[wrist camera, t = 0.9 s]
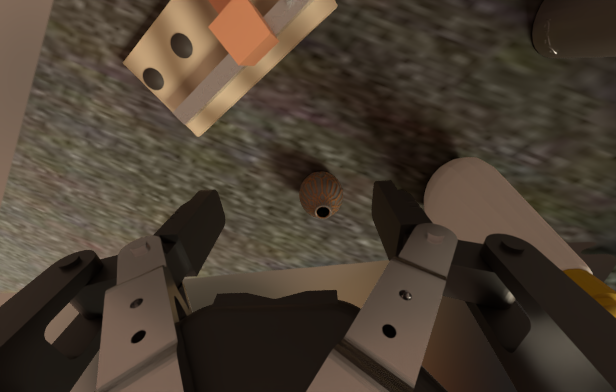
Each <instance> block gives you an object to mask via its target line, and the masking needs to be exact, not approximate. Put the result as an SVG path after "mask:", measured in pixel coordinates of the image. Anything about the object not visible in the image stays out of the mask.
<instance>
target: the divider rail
mask: <svg viewBox="0 0 616 392" xmlns="http://www.w3.org/2000/svg"><path fill="white" fill-rule="evenodd" d="M313 1H314V0H279V1H278V2H277V3H276V4H275V5H274V6H273V7H272V9H271V10H270V11H269V12H268V13H267V14H266V15H265V16H264V17H263V18H264V20H265V21H266V22H267V24H268V25H269V27H270V28H271V30H272V31H273V33H274V34H275V36H276V37H278V36H279V35H280V34H281V33H282V32H283V31H284V30H285V29H286V28H287V27H288V26H289V25H290V24H291V23H292V22H293V21H294V20H295V19H296V18H297V17H298V16H299V15H300V14H301V13H302V12H303V11H304V10H305V9H306V8H307V7H308V6H309V5H310V4H311V3H312V2H313ZM246 67H247V66H242V65H238V64H237V63H236V61H235V60H234V59H233V58H232V56H231V55H230V54H228V55H227V56H226V57H225V58H224V59H223V60H222V61H221V62H220V63H219V64H218V65H217V66H216V67H215V68H214V70H213V71H212V72H211V73H210V74H209V75H208V76H207V77H206V78H205V79H204V80H203V81H202V82H201V83H200V84H199V85H198V86H197V87H196V88H195V90H194V91H193V92H192V93H191V94H190V95H189V96H188V97H187V98H186V99H185V100H184V101H183V102H182V103H181V104H180V105H179V106H178V107H177V108H176V110H175V111H174V112H173V114H174V115H175V116H176V117H177V118H178V119H179V120H180V121H181V122H182V123H183V124H184V125H186V124H188V123H190V122H192V121H193V120H194V119H195V118H196V117H197V116H198V115H199V114H200V113H201V112H202V111H203V110H204V109H205V108H206V107H207V106H208V105H209V104H210V103H211V102H212V101H213V100H214V99H215V98H216V97H217V96H218V95H219V94H220V93H221V92H222V91H223V90H224V89H225V88H226V87H227V86H228V85H229V84H230V83H231V82H232V81H233V80H234V79H235V78H236V77H237V76H238V75H239V74H240V73H241V72H242V71H243V70H244V69H245V68H246Z"/></svg>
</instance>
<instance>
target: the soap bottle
mask: <svg viewBox="0 0 616 392" xmlns="http://www.w3.org/2000/svg"><path fill="white" fill-rule="evenodd" d="M424 210H425V214H426V215H427V216H428V217H429V219H430V220H431V221H432V223H433V224H438V225H441V226H444V227H446V228H448V229H450V230H451V231H452V232H453V233H454V234H455V235H456V236H457V239H458V240H463V241H468V242H475V243H481V244H483V243H484V241H485V238H486V237H487V236H488V235H490V234H496V233H500V234H507V235H512V236H515V237H518V238H520V239H523V240H525V241H527V242H528V243H530V244H532V245H533V246H534V247H535V248H537V249H538V250H539V251H540V252H541V253H542V254H543V255H545V256H546V257H547V258H548V259H549V260H550V261H551V262H553V263H554V264H555V265H556V266H557V267H558V268H559V269H561V270H562V271H563V272H564V273H565V274H566V275H567V276H569V277H570V278H571V279H572V280H573V281H574V282H575V283H576V284H578V285H579V286H580V287H581V288H582V289H583V290H584V291H586V292H587V293H588V294H589V295H590V296H591V297H592V298H594V299H595V300H596V301H597V302H598V303H599V304H600V305H602V306H603V307H604V308H605V309H606V310H607V311H608V312H610V313H611V314H612V315H613V316H614V317H615V318H616V292H615V291H614V290H613V289H611V288H610V287H608V286H607V285H606V284H604V283H603V282H601V281H600V280H599V279H597V278H596V277H595V276H593V275H592V272H591V270H590V269H589V267H588V266H587V265H586V263H584V261H582V259H581V258H580V257H579V256H578V255H577V254H576V253H575V252H574V251H573V250H572V249H571V248H570V247H569V246H568V245H567V243H566V242H565V241H564V240H563V239H562V238H561V237H560V236H559V235H558V234H557V233H556V232H555V231H554V230H553V229H552V228H551V227H550V226H549V225H548V223H547V222H546V221H545V220H544V219H543V218H542V217H541V216H540V215H539V214H538V213H537V212H536V211H535V210H534V209H533V208H532V207H531V206H530V205H529V203H528V202H527V201H526V200H525V199H524V198H523V197H522V196H521V195H520V194H519V193H518V192H517V191H516V190H515V189H514V188H513V187H512V186H511V185H510V183H509V182H508V181H507V180H506V179H505V178H504V177H503V176H502V175H501V174H500V173H499V172H498V171H497V170H496V169H495V168H494V167H493V166H491V165H489V164H488V163H486V162H484V161H482V160H480V159H478V158H477V157H464V158H458V159H453V160H451V161H449V162H447V163H446V164H444V165H442V166H441V167H439V169H438V170H437V171H436V172H435V173H434V174H433V175H432V177H431V178H430V180H429V182H428V184H427V187H426V190H425V194H424Z"/></svg>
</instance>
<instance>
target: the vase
mask: <svg viewBox="0 0 616 392" xmlns="http://www.w3.org/2000/svg"><path fill="white" fill-rule="evenodd" d="M299 198H300V202H301V205H302V207H303V208H304V210H305V211H306V212H307V213H308V214H310V215H311V216H313V217H316V218H319V219H327V218H328V217H330V216H332V215H333V214H335V213H336V212H337V211H338V209H339V208H340V206H341V204H342V200H343V190H342V187H341V184H340V182H339V181H338V179H337V178H336V177H335V176H333V175H332V174H330V173H328V172H324V171H318V172H314V173H312V174H310V175H308V176H307V177H306V178H305V179H304V181H303V182H302V184H301V187H300V192H299Z"/></svg>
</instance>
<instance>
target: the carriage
mask: <svg viewBox="0 0 616 392" xmlns="http://www.w3.org/2000/svg"><path fill="white" fill-rule="evenodd" d="M208 1H209V2H210V3H211V5H212V6H213V7H214V9H215V10H216V11H217V13H218V14H219V15H218V16H217V17H216V18H215V20H214V21H213V22H212V23H211V24H210V25H209V27H208V28H209V29H210V30H211V31H212V33H213V34H214V35H215V36H216V38H217V39H218V40H219V41H220V43H221V44H222V45H223V46H224V48H225V49H226V50H227V51H228V53H229V54H230V55H231V56H232V58H233V59H234V60H235V61H236V63H237V64H238V65H242V66H255V65H256V64H257V63H258V62H259V61H260V60H261V59H262V58H263V57H264V56H265V55H266V54H267V53H268V52H269V51H270V50H271V49H272V48H273V47H274V46H275V45H276V44H277V43H278V42H279V40H278V39H277V37H276V36H275V34H274V33H273V31H272V30H271V28H270V27H269V25H268V24H267V22H266V21H265V20H264V18H263V17H262V15H261V14H260V12H259V11H258V9H257V8H256V7H255V6H254V5H253V3H252V2H251V1H250V0H208Z"/></svg>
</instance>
